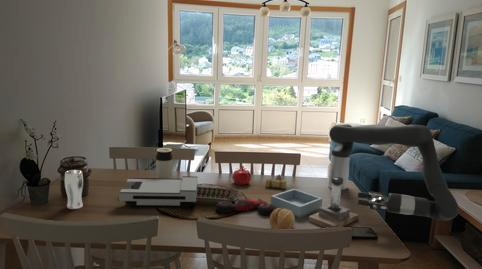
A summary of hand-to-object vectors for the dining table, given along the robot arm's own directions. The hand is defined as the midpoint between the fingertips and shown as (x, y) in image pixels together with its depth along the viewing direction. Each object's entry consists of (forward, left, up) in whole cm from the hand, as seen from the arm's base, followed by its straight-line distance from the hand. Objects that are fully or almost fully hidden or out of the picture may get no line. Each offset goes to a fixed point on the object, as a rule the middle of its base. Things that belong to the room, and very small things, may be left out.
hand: (357, 198), depth 157 cm
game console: (+48, -70, -11) cm, 85 cm away
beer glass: (+80, -85, -11) cm, 117 cm away
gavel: (-14, -54, -12) cm, 57 cm away
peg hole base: (+4, -8, -11) cm, 14 cm away
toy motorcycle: (+25, -39, -12) cm, 48 cm away
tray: (+6, -26, -11) cm, 28 cm away
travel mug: (+35, -86, -11) cm, 94 cm away
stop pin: (+4, -7, -9) cm, 12 cm away
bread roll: (+28, -15, -11) cm, 34 cm away
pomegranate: (+2, -65, -11) cm, 66 cm away
